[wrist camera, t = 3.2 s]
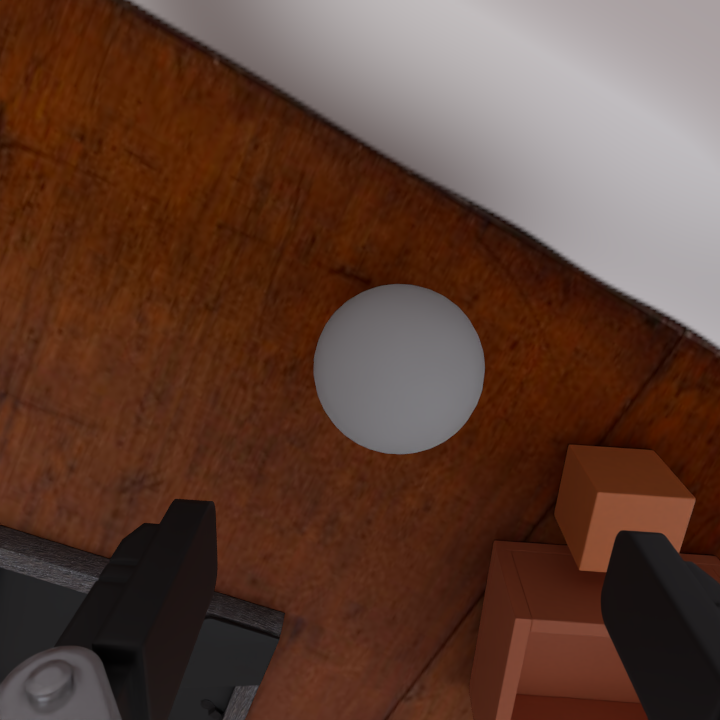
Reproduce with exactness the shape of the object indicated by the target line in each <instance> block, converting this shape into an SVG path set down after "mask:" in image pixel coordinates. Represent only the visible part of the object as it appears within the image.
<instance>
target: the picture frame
mask: <svg viewBox="0 0 720 720" xmlns="http://www.w3.org/2000/svg"><path fill="white" fill-rule="evenodd" d="M109 561H110V559H108V558H104V557H101V556H98V555H95V554H91V553H88V552H85V551H82V550H78V549H75V548H72V547H69V546H65V545H62V544H59V543H56V542H53V541H49V540H46V539H43V538H40V537H36V536H33V535H30V534H27V533H23V532H20V531H17V530H14V529H10V528H7V527H4V526H1V525H0V684H1V683H2V681H3V680H4V679H5V678H6V676H7V675H8V674H9V673H10V672H11V671H12V670H13V669H14V668H15V667H17V666H18V665H19V664H21V663H22V662H23V661H25V660H26V659H28V658H30V657H32V656H33V655H35V654H38V653H40V652H42V651H45V650H48V649H51V648H53V647H54V646H55V644H56V643H57V641H58V639H59V638H60V636H61V635H62V633H63V632H64V630H65V629H66V627H67V625H68V624H69V622H70V621H71V619H72V618H73V616H74V614H75V613H76V611H77V610H78V608H79V607H80V605H81V604H82V602H83V600H84V599H85V597H86V596H87V594H88V593H89V591H90V590H91V588H92V586H93V585H94V583H95V582H96V581H98V579H99V575H100V574H101V572H102V571H103V569H104V568H105V566H106V565H107V564H109ZM284 615H285V613H282V612H279V611H276V610H272V609H269V608H266V607H263V606H259V605H256V604H253V603H250V602H247V601H243V600H240V599H237V598H234V597H230V596H227V595H224V594H221V593H217V592H214V593H213V596H212V599H211V602H210V605H209V608H208V610H207V613H206V616H205V618H204V621H203V624H202V627H201V629H200V632H199V635H198V638H197V640H196V643H195V646H194V649H193V651H192V654H191V657H190V660H189V662H188V665H187V668H186V671H185V673H184V676H183V679H182V681H181V684H180V687H179V690H178V692H177V695H176V698H175V701H174V703H173V706H172V709H171V712H170V714H169V717H168V720H245V718H246V715H247V713H248V711H249V708H250V706H251V703H252V701H253V699H254V696H255V694H256V691H257V689H258V687H259V685H260V683H261V681H262V679H263V676H264V674H265V672H266V669H267V667H268V665H269V662H270V660H271V658H272V655H273V653H274V651H275V648H276V646H277V644H278V641H279V639H280V637H279V636H280V634H281V629H282V625H283V620H284Z"/></svg>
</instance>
